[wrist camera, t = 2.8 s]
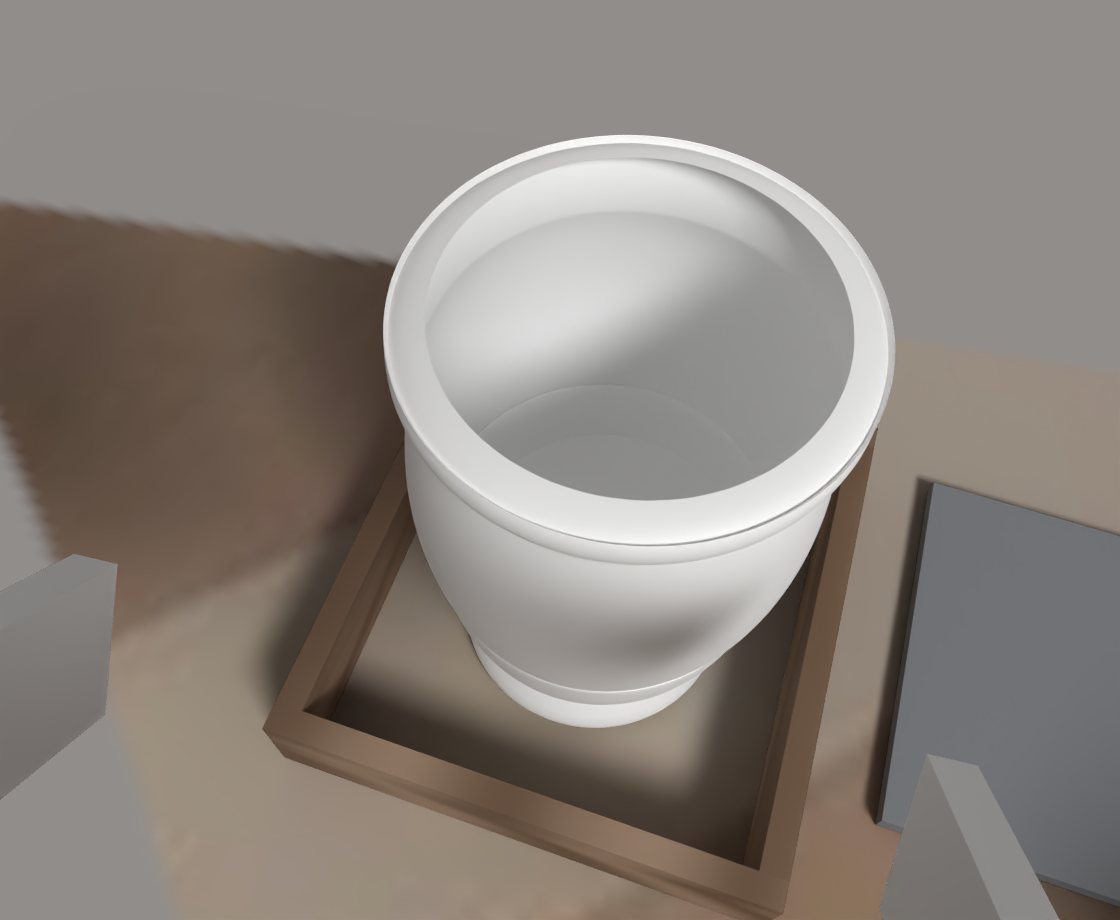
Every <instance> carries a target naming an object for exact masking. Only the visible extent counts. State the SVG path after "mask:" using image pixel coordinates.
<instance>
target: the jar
mask: <svg viewBox="0 0 1120 920" xmlns="http://www.w3.org/2000/svg"><path fill="white" fill-rule="evenodd" d="M383 340H384V359H385V368H386V374H387V379H388V384H389V389H390V393H391V397H392V400H393V403H394V406H395V409H396V411H397V414H398V416H399V418H400V421H401V423H402V425H403V427H404V429H405V469H406V480H407V488H408V495H409V501H410V506H411V511H412V516H413V520H414V524H415V527H416V531H417V534H418V538H419V541H420V544H421V546H422V549H423V552H424V554H425V557H426V559H427V562H428V564H429V566H430V569H431V571H432V573H433V575H434V577H435V579H436V581H437V583H438V585H439V586H440V588H441V590H442V592H443V593H444V595H445V597H446V598H447V600H448V601H449V603H450V605H451V606H452V607H453V609H454V610H455V612H456V613H457V615H458V617H459V619H460V621H461V622H462V624H463V625H464V627H465V629H466V630H467V632H468V633H469V634H470V637H471V640H472V643H473V646H474V649H475V651H476V653H477V655H478V657H479V659H480V661H481V663H482V665H483V666H484V668H485V670H486V671H487V673H488V674H489V675H490V677H491V678H492V679H493V680H494V682H495V683H496V684H497V685H498V686H499V687H500V688H501V689H502V690H503V691H504V692H505V693H506V694H507V695H508V696H509V697H511V698H512V699H513V700H514V701H516V702H517V703H518V704H520V705H521V706H523V707H524V708H526V709H528V710H529V711H531V712H533V713H535V714H537V715H539V716H541V717H544V718H546V719H549V720H552V721H555V722H558V723H562V724H566V725H571V726H577V727H587V728H604V727H613V726H620V725H625V724H629V723H632V722H636V721H639V720H641V719H644V718H646V717H649V716H651V715H653V714H655V713H657V712H659V711H661V710H662V709H664V708H666V707H667V706H669V705H670V704H672V703H673V702H674V701H676V700H677V699H678V698H679V697H680V696H682V695H683V694H684V693H685V692H686V691H687V690H688V689H689V688H690V687H691V686H692V685H693V683H694V682H695V681H696V680H697V678H698V677H699V676H700V674H701V673H702V671H704V670H705V669H706V668H708V667H709V666H710V665H712V664H713V663H714V662H715V661H716V660H717V659H718V658H720V657H721V656H722V655H723V654H724V653H725V652H726V651H727V650H729V649H730V648H731V647H733V646H734V645H735V644H736V643H738V642H739V641H740V640H741V639H742V638H744V637H745V636H746V635H747V634H748V633H749V632H750V631H751V630H752V629H753V628H754V627H755V626H756V625H757V624H758V623H759V622H760V621H761V620H762V619H763V618H764V617H765V616H766V615H767V614H768V613H769V611H770V610H771V609H772V608H773V607H774V605H775V604H776V603H777V602H778V600H779V599H780V598H781V597H782V595H783V594H784V592H785V591H786V590H787V588H788V587H789V585H790V584H791V582H792V581H793V579H794V578H795V576H796V574H797V573H798V571H799V570H800V568H801V566H802V564H803V562H804V561H805V559H806V557H807V555H808V553H809V551H810V549H811V547H812V545H813V543H814V541H815V538H816V536H817V534H818V531H819V529H820V526H821V524H822V521H823V519H824V516H825V513H826V510H827V507H828V504H829V501H830V498H831V494H832V493H833V492H834V491H835V490H836V489H837V487H838V486H839V485H840V484H841V483H842V482H843V481H844V479H845V478H846V477H847V476H848V475H849V473H850V472H851V471H852V469H853V468H854V467H855V465H856V464H857V462H858V461H859V459H860V458H861V456H862V455H863V453H864V451H865V449H866V447H867V446H868V444H869V442H870V440H871V438H872V436H873V433H874V431H875V429H876V427H877V425H878V423H879V421H880V419H881V417H882V414H883V412H884V409H885V407H886V404H887V401H888V397H889V394H890V390H891V386H892V381H893V375H894V367H895V335H894V327H893V321H892V316H891V311H890V307H889V304H888V301H887V297H886V294H885V292H884V289H883V286H882V284H881V282H880V279H879V277H878V275H877V273H876V271H875V269H874V267H873V265H872V264H871V262H870V260H869V258H868V257H867V255H866V254H865V252H864V251H863V249H862V248H861V246H860V245H859V244H858V242H857V241H856V240H855V238H854V237H853V236H852V235H851V233H850V232H849V231H848V230H847V228H846V227H845V226H844V225H843V224H842V223H841V222H840V221H839V220H838V219H837V218H836V217H835V216H834V215H833V214H832V213H831V212H830V211H829V210H828V209H827V208H826V207H825V206H824V205H822V204H821V203H820V202H819V201H817V200H816V199H815V198H814V197H813V196H811V195H810V194H809V193H807V192H806V191H804V190H803V189H802V188H800V187H799V186H797V185H796V184H794V183H793V182H791V181H790V180H788V179H786V178H785V177H783V176H781V175H780V174H778V173H776V172H774V171H772V170H770V169H768V168H766V167H764V166H762V165H760V164H758V163H756V162H754V161H751V160H749V159H746V158H744V157H741V156H739V155H736V154H733V153H731V152H728V151H725V150H721V149H718V148H715V147H711V146H707V145H704V144H699V143H695V142H690V141H685V140H679V139H673V138H665V137H656V136H641V135H612V136H598V137H589V138H581V139H575V140H569V141H564V142H559V143H555V144H551V145H547V146H544V147H540V148H537V149H534V150H531V151H528V152H525V153H522V154H520V155H517V156H515V157H513V158H510V159H507V160H505V161H503V162H501V163H499V164H497V165H495V166H493V167H491V168H489V169H488V170H486V171H484V172H482V173H481V174H479V175H477V176H475V177H474V178H472V179H471V180H469V181H468V182H466V183H465V184H464V185H462V186H461V187H460V188H458V189H457V190H456V191H454V192H453V193H452V194H451V195H449V196H448V197H447V198H446V199H445V200H444V201H443V202H442V203H441V204H439V206H438V207H437V208H435V209H434V211H433V212H432V213H431V214H430V215H429V216H428V217H427V218H426V219H425V221H424V222H423V223H422V224H421V226H420V227H419V228H418V229H417V231H416V232H415V234H414V235H413V237H412V238H411V240H410V241H409V243H408V245H407V246H406V248H405V250H404V252H403V253H402V255H401V257H400V259H399V261H398V264H397V266H396V268H395V271H394V274H393V276H392V279H391V282H390V286H389V289H388V294H387V298H386V304H385V310H384V321H383Z"/></svg>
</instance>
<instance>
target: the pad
mask: <svg viewBox="0 0 1120 920" xmlns="http://www.w3.org/2000/svg"><path fill="white" fill-rule="evenodd" d="M927 754H931V755H935V756H939V757H943V758H948V759H952V760H956V761H960V762H965V763H969V764H973V765H978V767H979V769H980V771H981V773H982V774H983V776H984V778H985V780H986V782H987V784H988V786H989V788H990V789H991V791H992V793H993V795H994V797H995V799H996V801H997V803H998V805H999V806H1000V808H1001V810H1002V812H1003V814H1004V816H1005V818H1006V820H1007V822H1008V823H1009V825H1010V827H1011V829H1012V831H1013V833H1014V835H1015V837H1016V839H1017V840H1018V842H1019V844H1020V846H1021V848H1022V850H1023V852H1024V854H1025V856H1026V857H1027V859H1028V861H1029V863H1030V865H1031V867H1032V869H1033V871H1034V873H1035V874H1036V876H1037V878H1038V880H1041V881H1044V882H1046V883H1049V884H1052V885H1055V886H1058V887H1061V888H1064V889H1067V890H1070V891H1073V892H1076V893H1079V894H1082V895H1085V896H1088V897H1091V898H1094V899H1097V900H1100V901H1103V902H1106V903H1109V904H1112V905H1115V906H1118V907H1120V536H1118V535H1114V534H1111V533H1107V532H1104V531H1100V530H1097V529H1093V528H1090V527H1086V526H1083V525H1080V524H1076V523H1073V522H1069V521H1066V520H1062V519H1059V518H1055V517H1052V516H1048V515H1045V514H1041V513H1038V512H1035V511H1031V510H1028V509H1024V508H1021V507H1017V506H1014V505H1010V504H1007V503H1003V502H1000V501H996V500H993V499H990V498H986V497H983V496H979V495H976V494H972V493H969V492H965V491H962V490H958V489H955V488H951V487H948V486H944V485H941V484H938V483H933V484H932V486H931V487H930V489H929V490H928V493H927V500H926V506H925V512H924V519H923V525H922V532H921V538H920V544H919V551H918V557H917V564H916V570H915V576H914V583H913V589H912V596H911V602H910V608H909V615H908V621H907V627H906V634H905V640H904V647H903V653H902V659H901V666H900V672H899V679H898V685H897V691H896V698H895V704H894V711H893V717H892V723H891V730H890V736H889V742H888V749H887V755H886V762H885V768H884V774H883V781H882V787H881V794H880V800H879V806H878V813H877V819H876V825H878V826H881V827H884V828H887V829H890V830H893V831H896V832H899V833H901V834H902V832H903V829H904V826H905V822H906V819H907V816H908V813H909V809H910V806H911V803H912V800H913V797H914V793H915V790H916V787H917V784H918V780H919V777H920V774H921V771H922V767H923V764H924V761H925V758H926V755H927Z"/></svg>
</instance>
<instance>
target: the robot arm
mask: <svg viewBox="0 0 1120 920" xmlns="http://www.w3.org/2000/svg"><path fill="white" fill-rule="evenodd" d="M117 565H118V564H115V563H111V562H107V561H102V560H98V559H94V558H90V557H85V556H81V555H77V554H72V555H70V556H69V557H67V558H65V559H63V560H61V561H59V562H57V563H55V564H53V565H51V566H49V567H47V568H45V569H43V570H41V571H39V572H37V573H36V574H33V575H31V576H30V577H27V578H26V579H24V580H22V581H20V582H18V583H16V584H14V585H12V586H10V587H8V588H6V589H4V590H2V591H0V799H1V798H3V797H4V796H5V795H7V794H8V793H9V792H10V791H11V790H13V789H14V788H15V787H16V786H18V785H19V784H20V783H21V782H22V781H24V780H25V779H26V778H27V777H29V776H30V775H31V774H32V773H34V772H35V771H36V770H37V769H39V768H40V767H41V766H42V765H44V764H45V763H46V762H47V761H49V760H50V759H51V758H52V757H53V756H55V755H56V754H57V753H58V752H60V751H61V750H62V749H63V748H65V747H66V746H67V745H68V744H69V743H70V742H72V741H73V740H74V739H76V738H77V737H78V736H79V735H81V734H82V733H83V732H84V731H85V730H87V729H88V728H89V727H90V726H91V725H93V724H94V723H95V722H97V721H98V720H99V719H100V718H102V717H103V716H104V715H105V711H106V698H107V686H108V674H109V662H110V650H111V638H112V625H113V613H114V601H115V589H116V577H117ZM879 908H880V912H881V915H882V919H883V920H1059V918H1058V916H1057V914H1056V912H1055V910H1054V908H1053V906H1052V905H1051V903H1050V901H1049V899H1048V897H1047V895H1046V893H1045V891H1044V889H1043V888H1042V886H1041V884H1040V882H1039V880H1038V878H1037V876H1036V874H1035V873H1034V871H1033V869H1032V867H1031V865H1030V863H1029V861H1028V859H1027V857H1026V856H1025V854H1024V852H1023V850H1022V848H1021V846H1020V844H1019V842H1018V840H1017V839H1016V837H1015V835H1014V833H1013V831H1012V829H1011V827H1010V825H1009V823H1008V822H1007V820H1006V818H1005V816H1004V814H1003V812H1002V810H1001V808H1000V806H999V805H998V803H997V801H996V799H995V797H994V795H993V793H992V791H991V789H990V788H989V786H988V784H987V782H986V780H985V778H984V776H983V774H982V773H981V771H980V769H979V767H978V765H973V764H969V763H965V762H960V761H956V760H952V759H948V758H943V757H939V756H935V755H931V754H927V755H926V758H925V761H924V764H923V767H922V771H921V774H920V777H919V780H918V784H917V787H916V790H915V793H914V797H913V800H912V803H911V806H910V809H909V813H908V816H907V819H906V822H905V826H904V829H903V832H902V835H901V838H900V842H899V845H898V848H897V851H896V855H895V858H894V861H893V864H892V867H891V871H890V874H889V877H888V880H887V884H886V887H885V890H884V893H883V896H882V900H881V903H880V906H879Z"/></svg>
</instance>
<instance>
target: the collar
mask: <svg viewBox="0 0 1120 920" xmlns="http://www.w3.org/2000/svg"><path fill="white" fill-rule="evenodd" d="M877 430H878V428H876V429H875V431H874V433H873V436H872V438H871V440H870V442H869V444H868V446H867V447H866V449H865V451H864V453H863V455H862V456H861V458H860V459H859V461H858V462H857V464H856V465H855V467H854V468H853V469H852V471H851V472H850V473H849V475H848V476H847V477H846V478H845V479H844V481H843V482H842V483H841V484H840V485H839V486H838V487H837V489H836V490H835V491H834V492H833V493H832V494H831V498H830V501H829V504H828V507H827V510H826V513H825V516H824V519H823V521H822V524H821V526H820V529H819V531H818V534H817V536H816V538H815V541H814V543H813V547H812V552H811V556H810V561H809V565H808V570H807V575H806V579H805V584H804V588H803V593H802V597H801V602H800V606H799V611H798V616H797V620H796V625H795V629H794V634H793V638H792V643H791V648H790V652H789V657H788V661H787V666H786V670H785V675H784V679H783V684H782V689H781V693H780V698H779V702H778V707H777V711H776V716H775V720H774V725H773V730H772V734H771V739H770V743H769V748H768V752H767V757H766V761H765V766H764V771H763V775H762V780H761V784H760V789H759V793H758V798H757V802H756V807H755V812H754V816H753V821H752V825H751V830H750V834H749V839H748V843H747V848H746V853H745V857H744V862H743V865H741V864H738V863H735V862H732V861H729V860H727V859H724V858H721V857H718V856H715V855H712V854H709V853H707V852H704V851H701V850H698V849H695V848H692V847H689V846H687V845H684V844H681V843H678V842H675V841H672V840H669V839H667V838H664V837H661V836H658V835H655V834H652V833H649V832H646V831H644V830H641V829H638V828H635V827H632V826H629V825H626V824H624V823H621V822H618V821H615V820H612V819H609V818H606V817H604V816H601V815H598V814H595V813H592V812H589V811H586V810H584V809H581V808H578V807H575V806H572V805H569V804H566V803H564V802H561V801H558V800H555V799H552V798H549V797H546V796H544V795H541V794H538V793H535V792H532V791H529V790H526V789H524V788H521V787H518V786H515V785H512V784H509V783H506V782H504V781H501V780H498V779H495V778H492V777H489V776H486V775H484V774H481V773H478V772H475V771H472V770H469V769H466V768H464V767H461V766H458V765H455V764H452V763H449V762H446V761H444V760H441V759H438V758H435V757H432V756H429V755H426V754H423V753H421V752H418V751H415V750H412V749H409V748H406V747H403V746H401V745H398V744H395V743H392V742H389V741H386V740H383V739H381V738H378V737H375V736H372V735H369V734H366V733H363V732H361V731H358V730H355V729H352V728H349V727H346V726H343V725H341V724H338V723H335V722H332V721H330V719H331V717H332V714H333V712H334V710H335V708H336V706H337V703H338V701H339V699H340V697H341V695H342V693H343V690H344V688H345V686H346V684H347V682H348V679H349V677H350V675H351V673H352V671H353V669H354V666H355V664H356V662H357V660H358V658H359V655H360V653H361V651H362V649H363V647H364V644H365V642H366V640H367V638H368V636H369V634H370V631H371V629H372V627H373V625H374V623H375V620H376V618H377V616H378V614H379V612H380V610H381V607H382V605H383V603H384V601H385V599H386V596H387V594H388V592H389V590H390V588H391V585H392V583H393V581H394V579H395V577H396V575H397V572H398V570H399V568H400V566H401V564H402V561H403V559H404V557H405V555H406V553H407V551H408V548H409V546H410V544H411V542H412V540H413V537H414V535H415V533H416V527H415V524H414V520H413V516H412V511H411V506H410V501H409V495H408V488H407V480H406V469H405V439H404V442H403V444H402V446H401V448H400V450H399V452H398V454H397V456H396V458H395V460H394V462H393V464H392V466H391V468H390V470H389V472H388V474H387V476H386V478H385V480H384V482H383V484H382V486H381V488H380V490H379V492H378V494H377V496H376V498H375V501H374V503H373V505H372V507H371V509H370V511H369V513H368V515H367V517H366V519H365V521H364V523H363V525H362V527H361V529H360V531H359V533H358V535H357V537H356V539H355V541H354V543H353V545H352V547H351V549H350V551H349V553H348V555H347V557H346V559H345V562H344V564H343V566H342V568H341V570H340V572H339V574H338V576H337V578H336V580H335V582H334V584H333V586H332V588H331V590H330V592H329V594H328V596H327V598H326V600H325V602H324V604H323V606H322V608H321V610H320V612H319V614H318V616H317V618H316V621H315V623H314V625H313V627H312V629H311V631H310V633H309V635H308V637H307V639H306V641H305V643H304V645H303V647H302V649H301V651H300V653H299V655H298V657H297V659H296V661H295V663H294V665H293V667H292V669H291V671H290V673H289V675H288V677H287V680H286V682H285V684H284V686H283V688H282V690H281V692H280V694H279V696H278V698H277V700H276V702H275V704H274V706H273V708H272V710H271V712H270V714H269V716H268V718H267V720H266V722H265V724H264V726H263V728H262V729H263V730H264V732H265V733H266V734H267V736H268V737H269V738H270V739H271V741H272V742H273V743H274V744H275V746H276V747H277V748H278V749H279V751H280V752H281V753H282V755H283V756H284V757H285V758H288V759H291V760H294V761H297V762H299V763H302V764H305V765H308V766H311V767H313V768H316V769H319V770H322V771H325V772H327V773H330V774H333V775H336V776H339V777H341V778H344V779H347V780H350V781H353V782H355V783H358V784H361V785H364V786H367V787H369V788H372V789H375V790H378V791H381V792H383V793H386V794H389V795H392V796H395V797H397V798H400V799H403V800H406V801H409V802H411V803H414V804H417V805H420V806H423V807H425V808H428V809H431V810H434V811H437V812H439V813H442V814H445V815H448V816H451V817H453V818H456V819H459V820H462V821H464V822H467V823H470V824H473V825H476V826H478V827H481V828H484V829H487V830H490V831H492V832H495V833H498V834H501V835H504V836H506V837H509V838H512V839H515V840H518V841H520V842H523V843H526V844H529V845H532V846H534V847H537V848H540V849H543V850H546V851H548V852H551V853H554V854H557V855H560V856H562V857H565V858H568V859H571V860H574V861H576V862H579V863H582V864H585V865H588V866H590V867H593V868H596V869H599V870H602V871H604V872H607V873H610V874H613V875H616V876H618V877H621V878H624V879H627V880H629V881H632V882H635V883H638V884H641V885H643V886H646V887H649V888H652V889H655V890H657V891H660V892H663V893H666V894H669V895H671V896H674V897H677V898H680V899H683V900H685V901H688V902H691V903H694V904H697V905H699V906H702V907H705V908H708V909H711V910H713V911H716V912H719V913H722V914H725V915H727V916H730V917H733V918H736V919H739V920H773V919H774V918H776V917H778V916H780V915H782V914H783V913H784V908H785V903H786V897H787V892H788V887H789V882H790V877H791V872H792V867H793V861H794V856H795V851H796V846H797V841H798V836H799V831H800V825H801V820H802V815H803V810H804V805H805V800H806V795H807V790H808V784H809V779H810V774H811V769H812V764H813V759H814V754H815V748H816V743H817V738H818V733H819V728H820V723H821V718H822V712H823V707H824V702H825V697H826V692H827V687H828V682H829V676H830V671H831V666H832V661H833V656H834V651H835V646H836V640H837V635H838V630H839V625H840V620H841V615H842V610H843V604H844V599H845V594H846V589H847V584H848V579H849V574H850V568H851V563H852V558H853V553H854V548H855V543H856V538H857V532H858V527H859V522H860V517H861V512H862V507H863V502H864V496H865V491H866V486H867V481H868V476H869V471H870V466H871V461H872V455H873V450H874V445H875V440H876V435H877Z"/></svg>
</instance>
